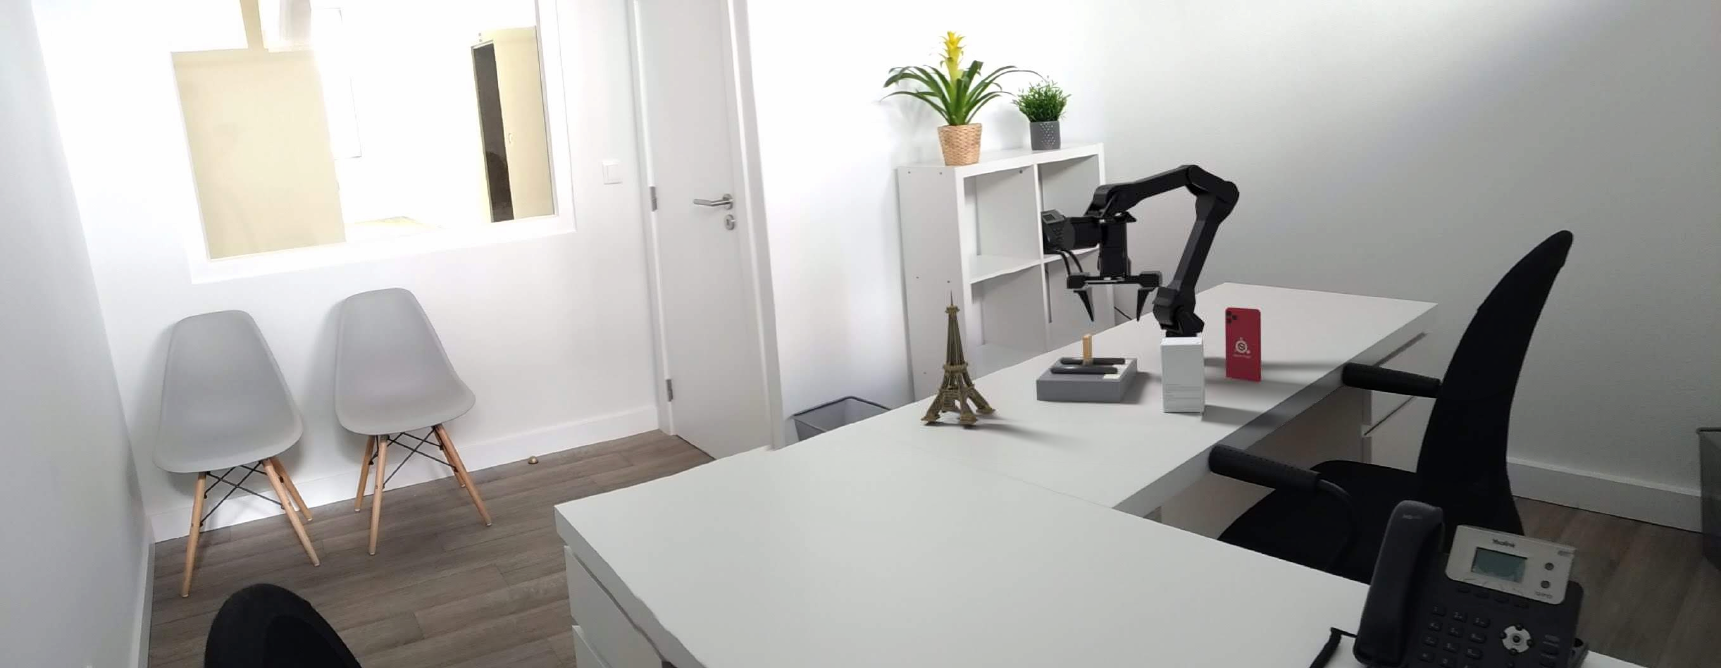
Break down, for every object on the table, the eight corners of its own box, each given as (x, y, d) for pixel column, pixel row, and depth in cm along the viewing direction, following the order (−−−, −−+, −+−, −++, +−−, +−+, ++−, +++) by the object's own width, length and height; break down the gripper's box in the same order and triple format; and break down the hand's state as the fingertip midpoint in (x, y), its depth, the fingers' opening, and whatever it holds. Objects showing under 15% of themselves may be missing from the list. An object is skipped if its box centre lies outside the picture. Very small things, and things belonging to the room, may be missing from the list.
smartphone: (1261, 384, 211) (1261, 309, 208) (1259, 385, 210) (1258, 309, 208) (1227, 380, 216) (1226, 306, 214) (1224, 381, 216) (1223, 307, 213)
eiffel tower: (945, 407, 211) (937, 280, 207) (995, 410, 206) (988, 280, 202) (920, 420, 202) (912, 288, 198) (972, 424, 197) (964, 288, 193)
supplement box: (1205, 403, 200) (1204, 336, 198) (1204, 413, 193) (1203, 343, 191) (1164, 402, 202) (1162, 336, 200) (1161, 412, 195) (1159, 344, 193)
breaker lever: (1094, 365, 219) (1093, 333, 218) (1089, 369, 215) (1089, 337, 214) (1086, 365, 220) (1085, 333, 219) (1081, 369, 216) (1081, 337, 215)
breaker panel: (1137, 377, 225) (1136, 351, 224) (1119, 402, 205) (1118, 374, 204) (1061, 375, 231) (1060, 351, 230) (1036, 400, 211) (1035, 373, 210)
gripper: (1165, 240, 225) (1166, 314, 227) (1075, 243, 232) (1078, 315, 235) (1157, 246, 215) (1159, 323, 217) (1064, 249, 222) (1067, 324, 224)
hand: (1115, 321), depth 224 cm, fingers open, 9 cm apart
